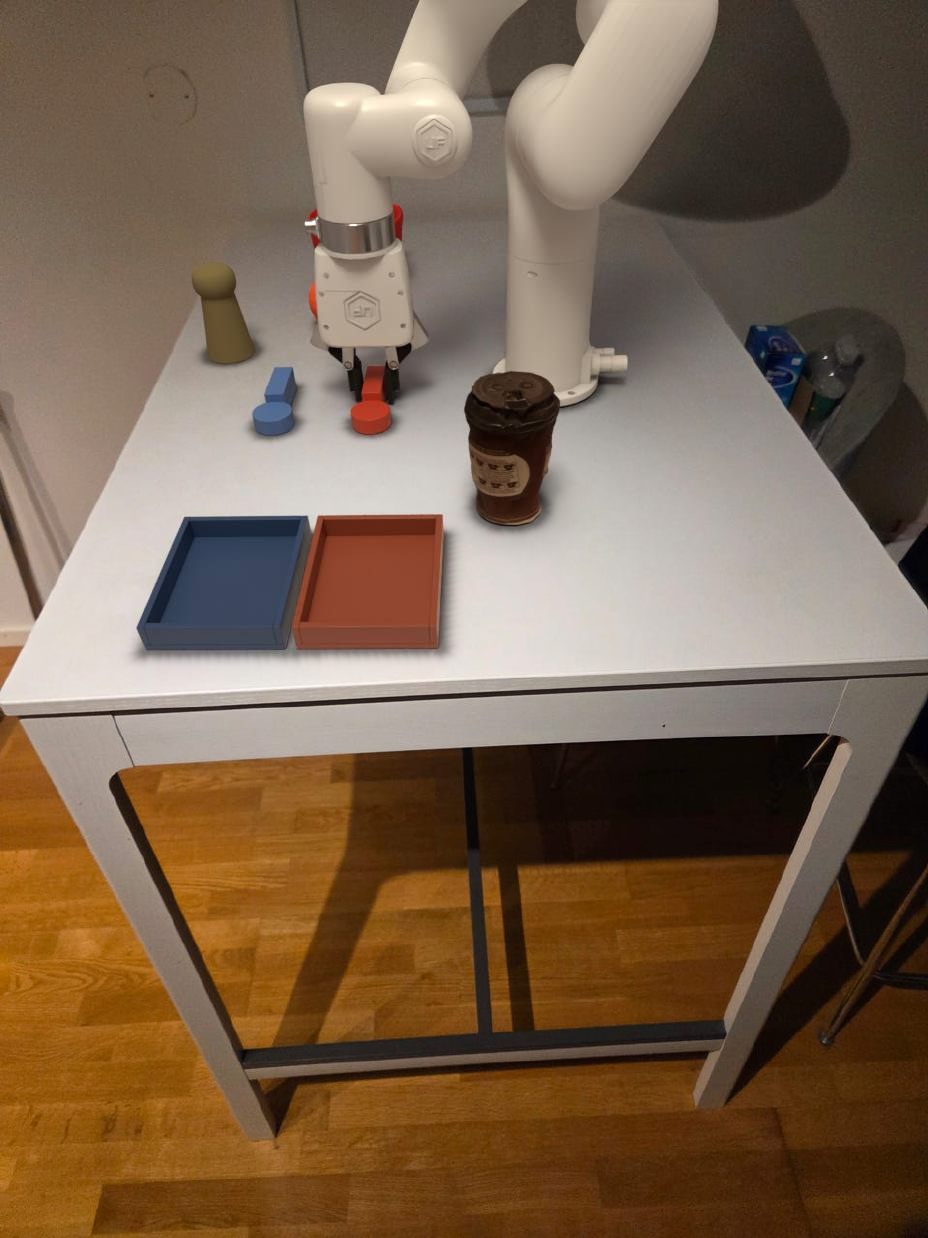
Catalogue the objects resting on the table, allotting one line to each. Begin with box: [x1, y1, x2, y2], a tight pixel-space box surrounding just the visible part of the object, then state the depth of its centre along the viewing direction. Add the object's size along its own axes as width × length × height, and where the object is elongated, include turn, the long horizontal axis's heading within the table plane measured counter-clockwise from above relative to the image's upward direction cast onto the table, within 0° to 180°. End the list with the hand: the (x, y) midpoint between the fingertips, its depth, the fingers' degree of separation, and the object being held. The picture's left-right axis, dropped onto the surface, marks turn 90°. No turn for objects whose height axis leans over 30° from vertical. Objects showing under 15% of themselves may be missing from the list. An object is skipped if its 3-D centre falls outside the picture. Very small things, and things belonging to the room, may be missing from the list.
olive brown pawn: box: [191, 261, 256, 364], centre depth 99 cm, size 6×6×11 cm
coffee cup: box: [463, 371, 561, 526], centre depth 73 cm, size 9×8×13 cm
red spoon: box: [350, 365, 392, 435], centre depth 91 cm, size 11×4×3 cm, turn 179°
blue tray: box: [135, 515, 313, 651], centre depth 70 cm, size 12×15×3 cm
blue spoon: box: [251, 366, 298, 437], centre depth 91 cm, size 11×4×3 cm, turn 179°
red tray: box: [291, 513, 445, 650], centre depth 69 cm, size 12×15×3 cm
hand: (375, 394), depth 93 cm, fingers open, 3 cm apart
